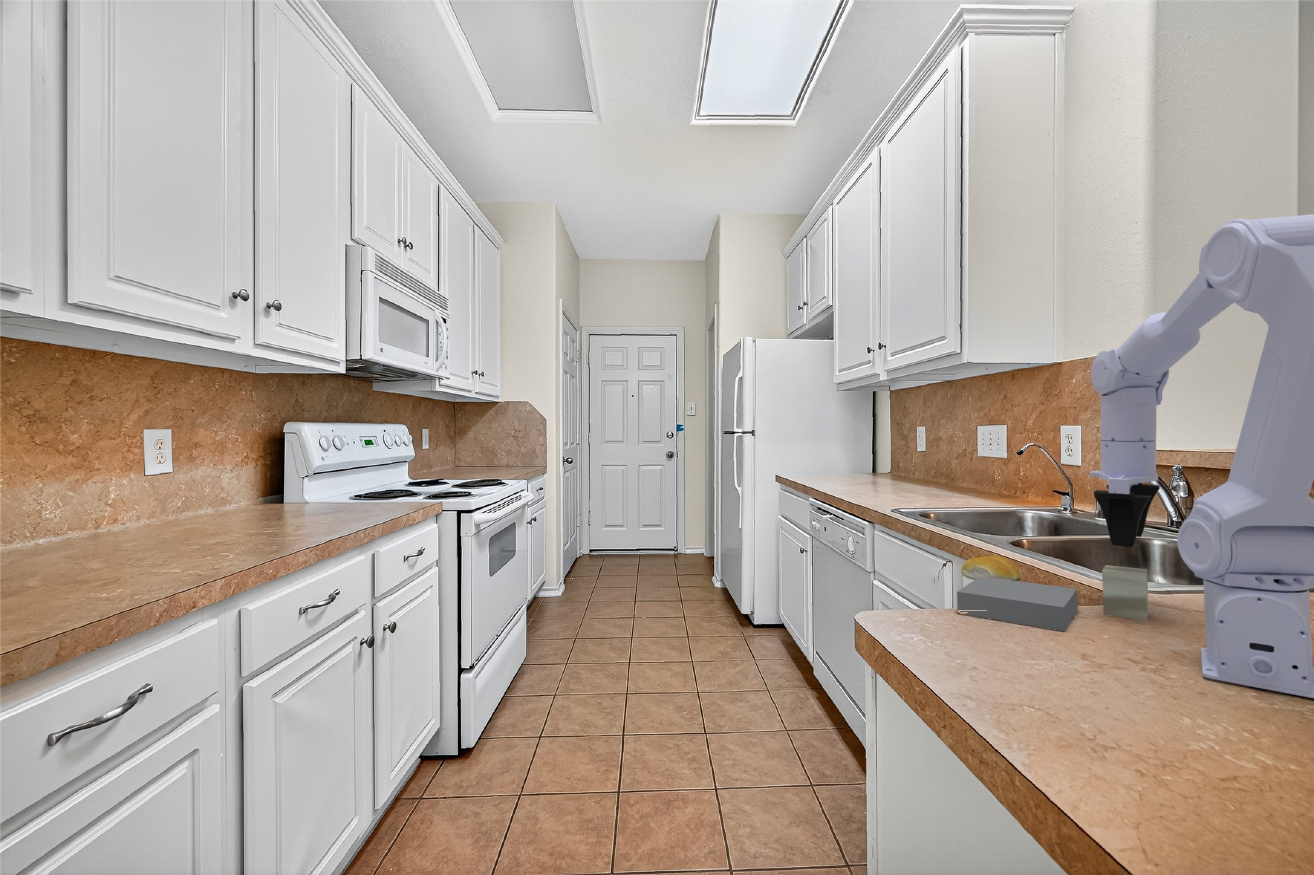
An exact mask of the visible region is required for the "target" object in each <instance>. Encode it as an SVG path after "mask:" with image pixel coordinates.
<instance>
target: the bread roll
mask: <svg viewBox="0 0 1314 875" xmlns="http://www.w3.org/2000/svg"><path fill="white" fill-rule="evenodd" d="M960 573H961V575H962V576H963V577H965V578H966V579H969V580H972V581H974V580H975V579H977V578H979V577H988V578H996V579H1004V580H1012V581H1018V580H1019V578H1020V577H1021V571H1020V569H1019V567H1018V566H1017V564H1016V563H1015V562H1013V560H1011V559H1008V558H1006V557H1004V556H998V555H990V556H978V557H972V558H969V559H967V560H965V562H963V564H962V565H961V568H960Z"/></svg>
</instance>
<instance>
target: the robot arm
mask: <svg viewBox="0 0 1314 875" xmlns="http://www.w3.org/2000/svg"><path fill="white" fill-rule="evenodd" d="M1233 304H1235V305H1237V306H1238V307H1240V308H1241V309H1242V310H1244V311H1246V312H1249V313H1252V314H1257V315H1258V316H1260V318H1262V319H1263V321H1264V322H1265V323H1266V325H1267V326H1268V328H1267V332H1266V337H1265V339H1264V340H1265V341H1264V344H1263V348H1262V352H1261V355H1260V359H1259V363H1258V367H1257V369H1256V370H1257V371H1256V373H1255V377H1254V382H1253V385H1252V388H1251V389H1252V390H1251V393H1250V397H1249V401H1248V404H1247V408H1246V411H1245V416H1244V419H1243V423H1242V426H1241V429H1240V433H1239V437H1238V441H1237V444H1236V448H1235V452H1234V454H1233V456H1234V457H1233V459H1232V462H1231V467H1230V472H1229V475H1228V479H1227V481H1226V482H1225V483H1223V484H1221V485H1220V486H1218V487H1216V488H1214V489H1212V490H1210V491H1208V492H1206V493H1204V494H1203V495H1201V496H1199V497H1198V498H1195V499H1194V502H1193V506H1192V509H1191V512H1190V513H1189V516H1188V517H1187V518H1186V519H1185V520H1184V521H1183V522H1182V525H1181V526H1180V527H1179V530H1178V533H1177V540H1176V542H1177V548H1178V552H1179V555H1180V557H1181V559H1182V560H1183V563H1184V564H1185V565H1187V567H1188V569H1189V570H1191V571H1192V572H1193V574H1194V577H1196V578H1200V579H1202V580H1203V601H1204V602H1203V603H1204V622H1205V623H1204V624H1205V625H1204V626H1205V627H1204V628H1205V647H1201V648H1200V659H1201V661H1200V662H1201V670H1202V677H1204V678H1206V679H1209V680H1216V681H1221V682H1227V683H1231V684H1237V685H1242V686H1247V687H1252V688H1257V689H1263V690H1269V691H1273V692H1278V693H1284V694H1290V695H1295V696H1299V697H1304V698H1305V697H1306V698H1311V699H1314V665H1313V664H1314V661H1313V642H1312V621H1311V620H1312V619H1311V618H1312V616H1311V601H1310V600H1311V598H1310V597H1311V596H1310V595H1311V594H1310V590H1311V589H1314V498H1312V496H1310V492H1311V490H1312V486H1313V485H1314V484H1313V483H1314V213H1313V214H1302V215H1300V214H1299V215H1289V216H1277V217H1268V218H1257V219H1255V218H1253V219H1247V218H1235V219H1231V220H1229V221H1227V222H1225V223H1223V224H1222V225H1220V226H1219V227H1218V228H1217V229H1216V230H1215V232H1214V233H1213V234H1212V235H1211V237H1210V238H1209V239H1208V241H1207V242H1206V243H1205V244H1204V245H1203V246H1202V247H1201V249H1200V255H1199V260H1198V273H1197V275H1196V276H1195V277H1194V278H1193V279H1192V280H1191V282H1190V283H1189V285H1188V286H1187V287H1186V288H1185V289H1184V291H1183V292H1182V293H1181V294H1180V295H1179V297H1178V298H1177V299H1176V300H1175V301H1174V303H1173V304H1172V305H1171V307H1170V308H1169V309H1168V310H1167V311H1166V312H1165V311H1163V312H1158V313H1154V314H1150V315H1148V316H1147V318H1145V319H1144V321H1143V322H1142V323H1141V324H1140V325H1138V327H1137V328H1136V329H1135V330H1134V331H1133V332H1132V333H1131V334H1130V335H1129V337H1128V338H1127V339H1126V340H1125V341H1124V342H1123V343H1122V344H1121V345H1120V346H1119V347H1118V348H1111V350H1109V349H1108V350H1101V351H1100V352H1098V353H1097V355H1096V357H1095V358H1094V359H1093V362H1092V365H1091V368H1090V369H1091V370H1090V380H1091V381H1090V382H1091V385H1092V388H1093V389H1094V391H1095V392H1096V393H1098V394H1100V470H1091V471H1089V477H1091V478H1098V479H1100V480H1103V481H1104V482H1106V483H1108V484H1107V485H1106V486H1105V487H1106V489H1107V490H1102V489H1096V490H1094V491H1093V497H1094V499H1095V501H1097V504H1098V505H1099V507H1100V509H1101V511H1102V514H1103V517H1104V519H1105V522H1106V523H1105V524H1106V527H1107V532H1108V536H1109V540H1110V542H1111V545H1112V546H1117V547H1126V548H1133V547H1134V545H1135V543H1136V540H1137V538H1138V537H1139V538H1141V537H1142V535H1143V533H1144V530H1145V526H1146V522H1147V518H1148V514H1149V510H1150V507H1151V504H1152V502H1153V500H1154V498H1155V496H1156V495H1157V493H1158V492H1159V491H1160V489H1161V486H1160V485H1159V484H1153V483H1152V484H1151V482H1156V481H1158V480H1159V475H1158V473H1157V406H1160V405H1161V403H1162V401H1163V391H1164V388H1165V386H1166V385H1167V383H1168V381H1169V375H1170V369H1171V368H1172V367H1173V366H1174V365H1175V364H1177V363H1178V362H1179V361H1180V360H1181V359H1183V358H1184V357H1185V356H1186V355H1187V354H1188V353H1190V351H1192V350H1193V349H1194V348H1196V347H1197V345H1198V344H1199V342H1200V340H1201V331H1200V329H1201V328H1202V327H1204V326H1206V325H1207V324H1208V323H1209V322H1210V321H1212V320H1213V319H1214V318H1216V317H1217V316H1219V315H1220V314H1221V313H1222V312H1224V311H1225V310H1226V309H1228V308H1229V307H1231V305H1233Z"/></svg>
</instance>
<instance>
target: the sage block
mask: <svg viewBox="0 0 1314 875" xmlns="http://www.w3.org/2000/svg"><path fill="white" fill-rule="evenodd" d="M1101 572H1102V573H1101V574H1102V575H1101V578H1102V601H1103V604H1102V605H1103V616H1107V615H1111V616H1110V617H1116V618H1121V617H1122V619H1128V618H1130V619H1129V620H1133V621H1134V620H1136V621H1141V620H1142V621H1143V622H1148V619H1149V613H1150V612H1149V587H1148V569H1147V568H1136V567H1128V566H1116V565H1108V564H1107V565H1104V566H1103V569H1102V570H1101Z"/></svg>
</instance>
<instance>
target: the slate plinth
mask: <svg viewBox="0 0 1314 875" xmlns="http://www.w3.org/2000/svg"><path fill="white" fill-rule="evenodd" d="M1078 596H1079V595H1078V588H1077V587H1076V588H1075V587H1067V586H1066V587H1065V586H1058V585H1051V584H1050V585H1049V584H1044V583H1043V584H1042V583H1035V582H1026V581H1020V580H1019V581H1018V580H1004V579H996V578H988V577H979V578H977V579H975V580H972V581H971V582H970V583H968V584H966V585H965V586H964V587H962V588H960V589H959V590H957V591H956V606H957V608H956V609H957V611H958V610H987V611H960V612H968V613H966V614H964V615H963V616H968V615H969V616H970V617H975V618H980V617H982V618H981V619H986V618H990V619H989V620H992V619H995V620H994V621H998V620H1002V621H1001V622H1004V621H1006V622H1005V623H1009V622H1013V623H1012V624H1015V623H1018V624H1017V625H1021V624H1022V625H1021V626H1027V625H1028V627H1033V626H1036V627H1035V628H1039V627H1041V628H1040V629H1045V628H1049V629H1048V630H1050V629H1056V630H1059V631H1058V632H1062V631H1065V630H1066V631H1067V629H1068V627H1069V626H1070V624H1071V623H1070V622H1072V621H1073V619H1074V618H1075V616H1076V615H1077V613H1078V611H1079V601H1078V600H1079V599H1078V598H1079V597H1078ZM1077 610H1078V611H1077ZM1075 614H1076V615H1075ZM1074 615H1075V616H1074ZM1073 617H1074V618H1073ZM1072 618H1073V619H1072ZM1071 620H1072V621H1071ZM1069 623H1070V624H1069ZM1068 625H1069V626H1068ZM1067 626H1068V627H1067ZM1066 628H1067V629H1066ZM1056 630H1055V631H1056ZM1066 631H1065V632H1066Z"/></svg>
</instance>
